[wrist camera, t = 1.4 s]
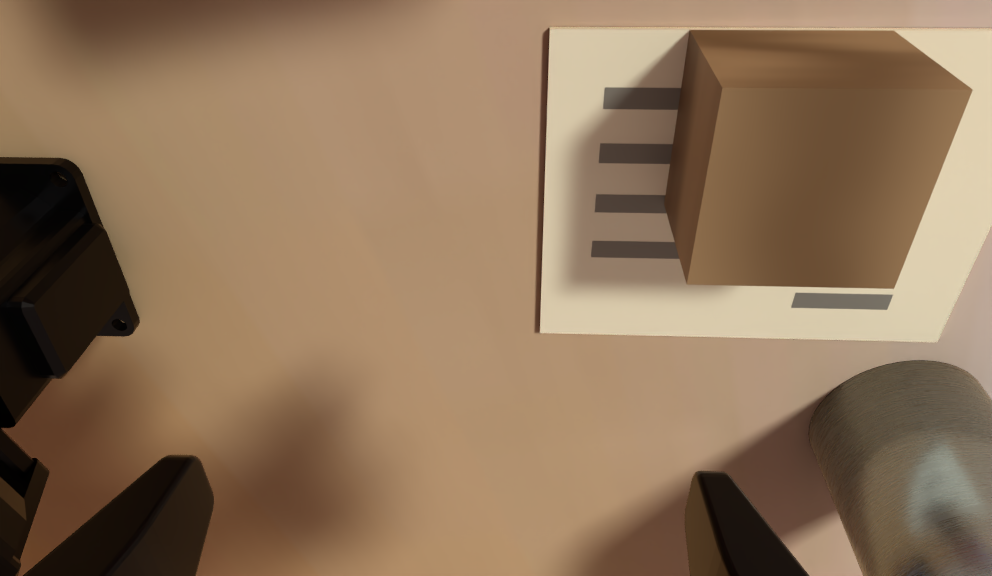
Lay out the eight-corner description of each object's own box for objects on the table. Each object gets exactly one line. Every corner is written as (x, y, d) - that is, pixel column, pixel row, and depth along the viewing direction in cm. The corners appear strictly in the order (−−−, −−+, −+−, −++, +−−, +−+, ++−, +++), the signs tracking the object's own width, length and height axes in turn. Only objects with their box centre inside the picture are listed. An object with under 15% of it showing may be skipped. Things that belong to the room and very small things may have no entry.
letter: (539, 329, 24) (539, 333, 24) (549, 26, 18) (549, 29, 18) (934, 338, 23) (937, 342, 23) (1077, 28, 18) (1082, 31, 17)
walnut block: (663, 204, 21) (686, 284, 18) (689, 29, 18) (722, 87, 15) (838, 207, 21) (894, 288, 17) (894, 30, 18) (973, 89, 14)
